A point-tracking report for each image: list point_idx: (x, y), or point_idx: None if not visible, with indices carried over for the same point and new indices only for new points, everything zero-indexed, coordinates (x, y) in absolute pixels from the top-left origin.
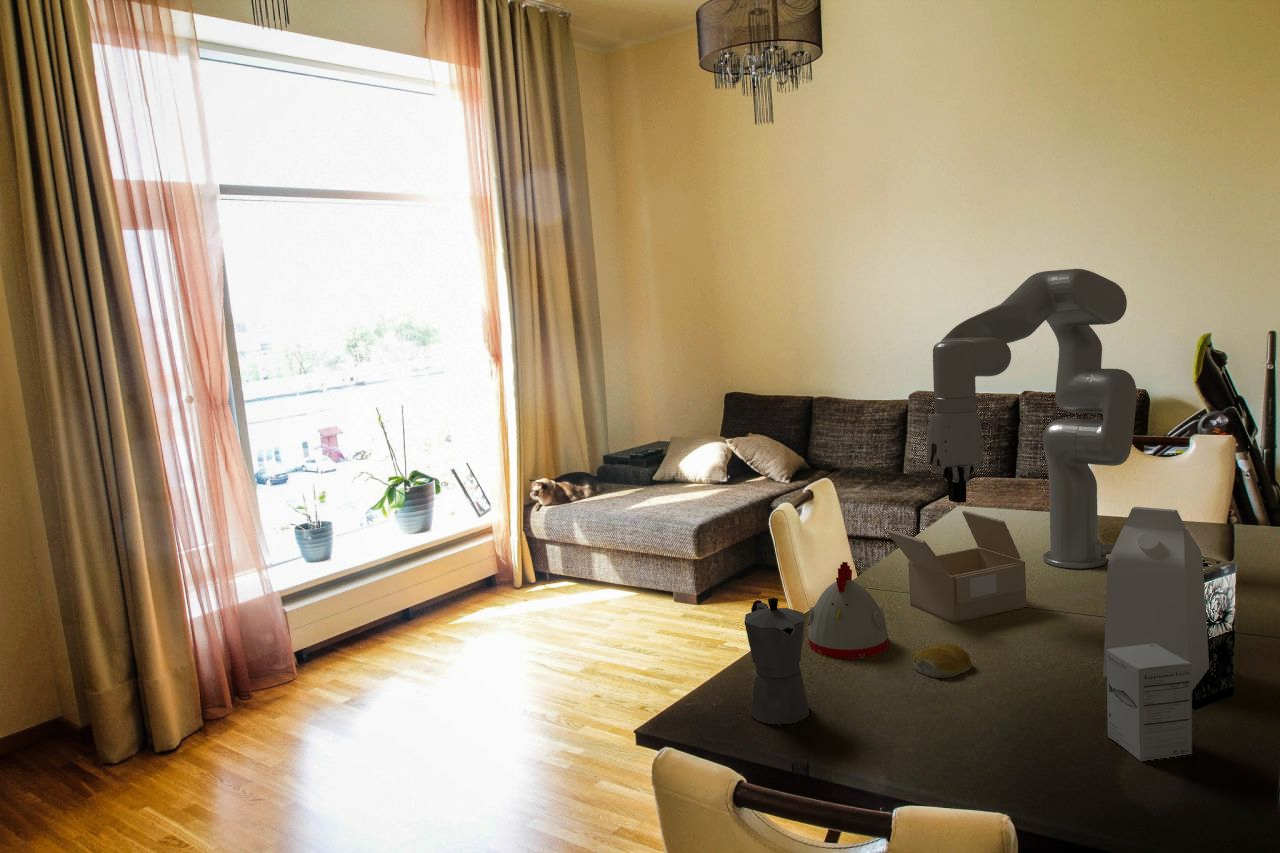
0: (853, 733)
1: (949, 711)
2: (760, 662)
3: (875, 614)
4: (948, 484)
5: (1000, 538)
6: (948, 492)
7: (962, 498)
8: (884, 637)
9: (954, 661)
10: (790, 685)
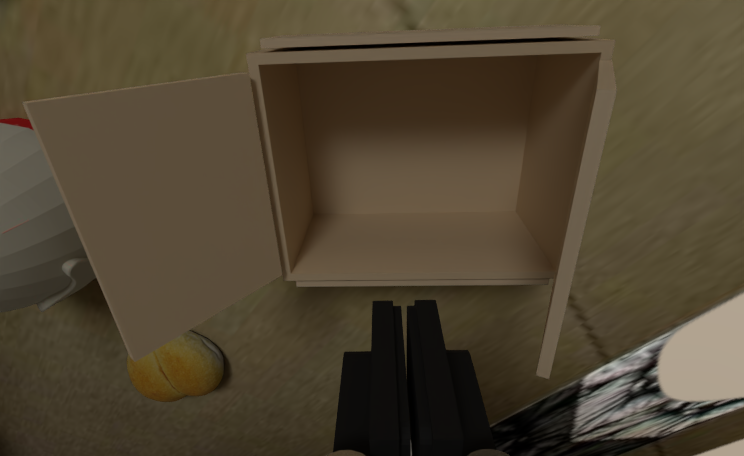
0: (2, 435)
1: (133, 441)
2: None
3: (40, 310)
4: (334, 445)
5: (557, 266)
6: (343, 375)
7: (408, 400)
8: None
9: (178, 399)
10: None
